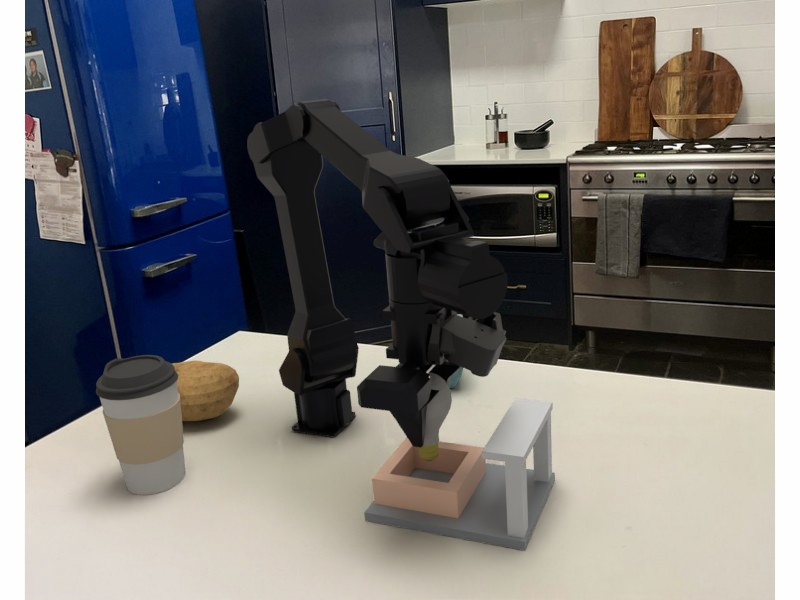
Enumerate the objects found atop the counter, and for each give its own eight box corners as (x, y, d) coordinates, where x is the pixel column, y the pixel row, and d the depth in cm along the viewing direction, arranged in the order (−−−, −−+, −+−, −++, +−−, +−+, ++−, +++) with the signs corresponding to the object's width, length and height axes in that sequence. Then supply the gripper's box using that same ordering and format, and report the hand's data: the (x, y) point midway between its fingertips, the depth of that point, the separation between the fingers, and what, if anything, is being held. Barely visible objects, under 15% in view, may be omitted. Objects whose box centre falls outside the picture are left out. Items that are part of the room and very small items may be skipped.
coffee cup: (209, 463, 94) (190, 350, 90) (165, 504, 86) (142, 381, 82) (148, 456, 97) (126, 346, 93) (100, 495, 89) (73, 376, 85)
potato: (167, 401, 113) (157, 350, 111) (255, 404, 110) (247, 352, 108) (130, 432, 104) (119, 378, 102) (225, 436, 101) (216, 381, 99)
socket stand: (365, 520, 80) (356, 436, 77) (412, 459, 92) (406, 384, 89) (525, 550, 74) (522, 459, 71) (555, 480, 85) (553, 399, 82)
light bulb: (451, 474, 80) (446, 385, 77) (400, 472, 81) (392, 384, 78) (458, 448, 85) (453, 364, 82) (409, 446, 86) (403, 363, 83)
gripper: (463, 333, 66) (471, 493, 71) (520, 272, 82) (524, 405, 87) (347, 324, 70) (362, 475, 75) (423, 268, 86) (431, 395, 91)
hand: (427, 434), depth 82 cm, fingers closed on light bulb, 5 cm apart
